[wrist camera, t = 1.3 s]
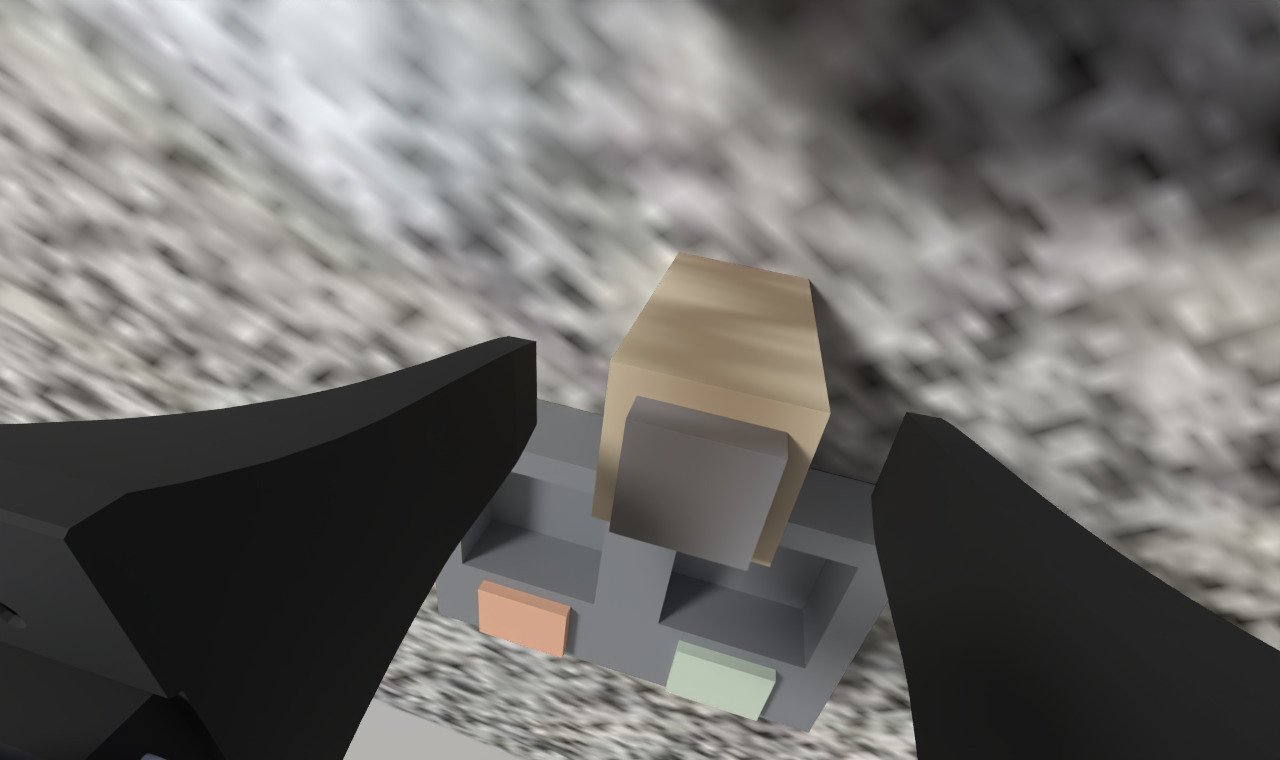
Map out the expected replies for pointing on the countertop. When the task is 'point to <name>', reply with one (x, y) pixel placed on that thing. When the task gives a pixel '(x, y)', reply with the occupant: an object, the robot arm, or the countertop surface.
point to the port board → (669, 585)
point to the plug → (713, 413)
